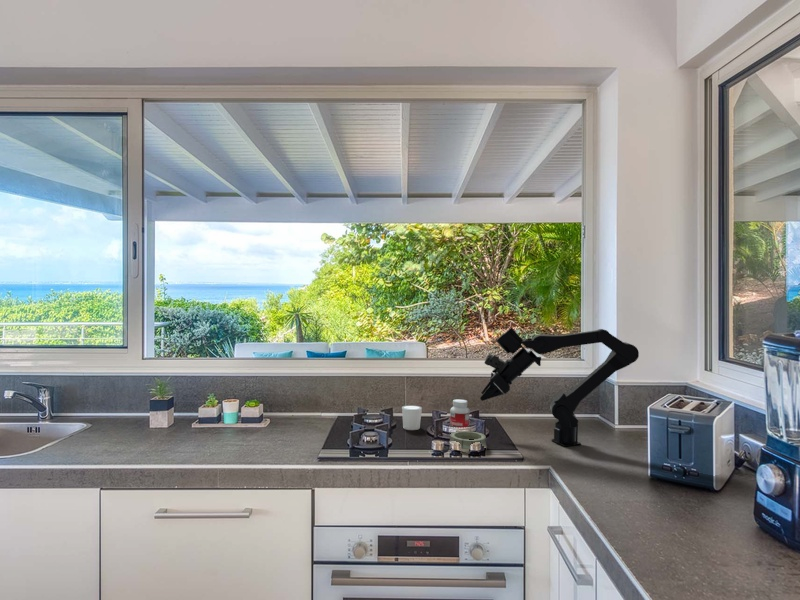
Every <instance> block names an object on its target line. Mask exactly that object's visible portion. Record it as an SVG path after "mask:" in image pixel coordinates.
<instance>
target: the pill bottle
mask: <svg viewBox="0 0 800 600" xmlns="http://www.w3.org/2000/svg"><path fill="white" fill-rule="evenodd" d="M452 405H453V406H452V407H451V408H450V412H449V413H450V414H449V416H450V417H449V425H450V424H451V425H453V426H457V427H467V426H468V425H469V426H470V408H468V407H467V406H468V400H466V399H459V398H458V399H457V398H456V399H453V400H452Z"/></svg>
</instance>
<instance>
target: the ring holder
mask: <svg viewBox="0 0 800 600" xmlns="http://www.w3.org/2000/svg"><path fill="white" fill-rule="evenodd" d="M486 437H487V436H486V435H485V434H483V433H481V432H476V431H473V430H469V431H456V432H453V433H451V434H450V433H449V442H450V441H456V442H459V443H460V444H461V450H462V451H465V452H468V451H469V449H470V445H471V444H473V443H475V442H480V443H481V444H482V446H484V448H486V449H487V444H486ZM469 439H474V440H469Z"/></svg>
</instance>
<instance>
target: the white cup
mask: <svg viewBox="0 0 800 600" xmlns="http://www.w3.org/2000/svg"><path fill="white" fill-rule="evenodd" d="M422 409H423V408H422V406H419V405H412V404H411V405H403V406H401V412H402V413H401V414H402V427H403V429H404V430H407V431H416V430H419V429H420V427H421V420H422V419H421V418H422Z"/></svg>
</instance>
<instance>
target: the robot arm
mask: <svg viewBox="0 0 800 600" xmlns="http://www.w3.org/2000/svg"><path fill="white" fill-rule="evenodd" d="M495 342H496V344H498V345H499V346H500V347H501V349H503V351H504V352H506V354H509V353H510V354H512V355H513V356H512V357H511V358H510V359H508V358H507V359H506V360H503V359H501V358H500V357H499V356H498V355H497V356H496V354H494V355H493V354H491V353H488V355H487V357H486V358H485V359H484V364H485V365H487V366H489V367H491V368H493V369H492V372H491V373H490V379H489V381H488V383H486V385H485V387H484V388H483V389H482V391H481V394H482V395H481V396H479V397H480V398H479V400H480V401H482V402H484V401H486V400H490V399H493V398H495V397H499V396H503V395H506V394H508V392H509V391H511V385H512V384H513V382H514V381H515V380H516V379H518V377H521V376H522V375H523V373H524V372H525V371H526V370H527V369H529V368H530V367H531V366H532V365H533V364H534V363H535V364H536V365H538V367H541V366H542V365H541V364H542V363H541V361H542V356H537V355H536V354H538V355H545V354H548V353H551V352H554V351H558V350H560V349H562V348H569V347H570V348H571V347H575V346H585V345H591V344H598V343H602V345H604V346H605V347H607V348H608V349H610V350H611V351H610V352H609V354H608V355H607V357H606V359H605V360H604V361H603V362H602V363H601V364H600V365H599V366H598V367H596V369H593V371H592V372H591V373H590V374H588V375H587V376H586V377H585V378H584V379H583V380H581V381H580V382H579V383H578V384H577V385H576V386H574V387H573V388H572V389H571V390H569V391H567V392H564V390H562V389H561V390H560V391H559V392H558V393H557V394H556V395H554V397H551V398H552V400H551V402H550V405H549V406H550V407H549V408H550V411H551V415H552V416H553V417H554V418H555V419H556V420H557V422H555V424H554V425H555V426H554V429H553V433H554V434H553V438H552V439H551V442H554V443H555V444H558V445H559V446H560V445H561V446H563V447H571V446H573V447H575V446H580V445H582V443H581V442H580V441H578V438H579V436H578V435H579V419H578V418H577V416H576V414H575V413H574V412H575V411H576V410H577V407H579V405H580V403H581V402H582V400H584V399H585V398H587V396H588V395H590V394H591V393H592V392H593V391H594V390H595V389H597V388H598V387H599V386H600V385H602V383H604V382H605V381H606V380H608V378H610V377H612V375H614V373H615V372H617V371H620V370H622V369H624V368H626V367H628V366H630V365H632V364H633V363H635V362H636V361H637V360H638V359H639V354H640V353H639V350H638V348H637V347H636V345H634V344H631V343H628V342H626V341H625V342H623V341H622V340H620V339H619V338H617V337H616V336H614V335H613V334H611V333H610V332H609V331H608V330H606V329H604V328H599V329H596V330H590V331H581V332H574V333H569V334H568V333H567V334H558V335H557V334H536V335H534V336H533V337H532V338H526V337H525V338H522V337H521V336H520V335H519V334H518V333H517V332H516V330H515V329H514V327H512V326H511V327H509V329H507V330H506V331H505V332H503V333H502V334H500V335H499V337H498V338H496V340H495ZM522 344H523V345H522ZM520 348H521V349H520ZM526 348H527V349H531V350H529V351H528V350H527V349H526ZM519 349H520V350H519ZM518 350H519V351H518ZM534 352H535V353H536V354H535V353H534Z"/></svg>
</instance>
